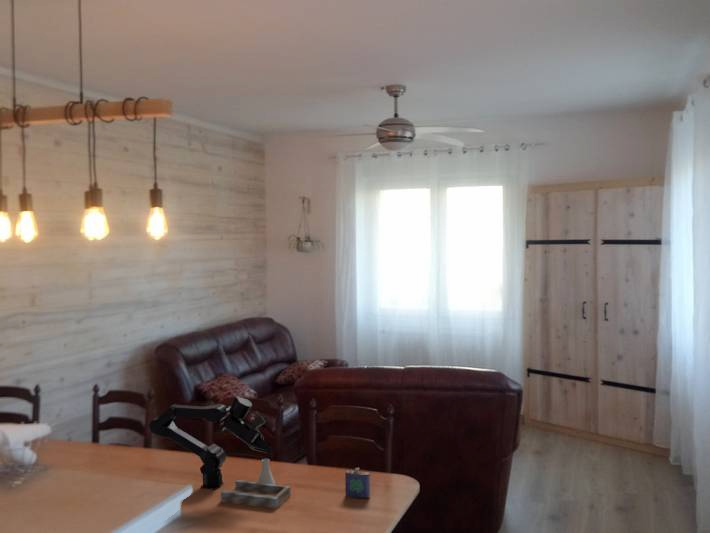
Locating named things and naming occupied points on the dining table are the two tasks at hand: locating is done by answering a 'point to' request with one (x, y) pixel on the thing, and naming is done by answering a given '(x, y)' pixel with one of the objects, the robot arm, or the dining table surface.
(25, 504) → the dining table surface
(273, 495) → the grey rectangular tray
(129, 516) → the dining table surface
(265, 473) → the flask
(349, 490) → the flask
